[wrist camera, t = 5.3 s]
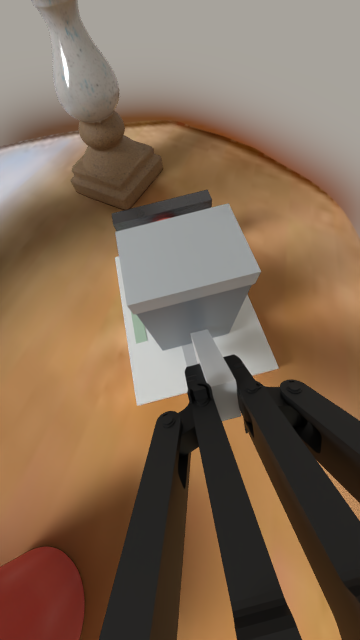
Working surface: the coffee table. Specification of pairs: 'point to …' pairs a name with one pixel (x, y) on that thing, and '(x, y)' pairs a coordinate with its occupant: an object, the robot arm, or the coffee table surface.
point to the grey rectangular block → (187, 274)
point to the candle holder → (95, 112)
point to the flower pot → (41, 597)
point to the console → (169, 365)
